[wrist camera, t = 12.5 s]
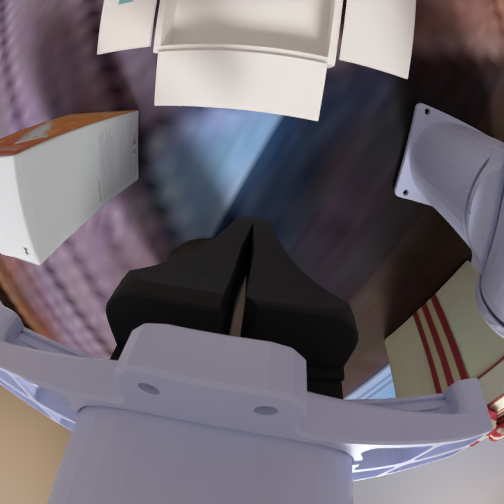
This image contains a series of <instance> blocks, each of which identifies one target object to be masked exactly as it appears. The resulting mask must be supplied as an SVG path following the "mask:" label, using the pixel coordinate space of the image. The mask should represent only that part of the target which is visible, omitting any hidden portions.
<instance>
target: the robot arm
mask: <svg viewBox="0 0 504 504" xmlns="http://www.w3.org/2000/svg"><path fill="white" fill-rule="evenodd" d="M425 109H428V113H427V114H425ZM404 190H407V192H406V193H405V194H403V192H404ZM394 193H395V194H396V195H397V196H398V197H402V198H405V199H409V200H413V201H416V202H420V203H423V204H427V205H430V206H433V207H434V208H435V209H436V210H437V211H438V212H439V213H440V214H441V215H442V216H443V217H444V218H445V219H446V221H447V222H448V223H449V224H450V225H451V226H452V227H453V228H454V229H455V231H456V232H457V233H458V234H459V235H460V236H461V237H462V239H463V240H464V241H465V242H466V243H467V245H468V246H469V247H470V248H471V250H472V260H471V264H472V265H473V266H474V268H475V269H476V271H477V272H478V273H479V275H480V276H479V279H478V282H477V285H476V289H475V299H476V303H477V306H478V309H479V311H480V313H481V315H482V316H483V318H484V320H485V321H486V322H487V324H488V325H489V326H490V327H491V328H492V329H493V330H494V331H495V332H496V333H497V334H498V335H500V336H501V337H502V338H504V142H501V141H499V140H497V139H495V138H492V137H490V136H488V135H486V134H484V133H482V132H481V131H479V130H477V129H475V128H473V127H472V126H470V125H468V124H466V123H464V122H462V121H460V120H458V119H456V118H454V117H452V116H450V115H448V114H446V113H444V112H441V111H439V110H437V109H435V108H432V107H430V106H428V105H425V104H423V103H417V104H416V106H415V110H414V115H413V119H412V124H411V128H410V132H409V137H408V141H407V145H406V149H405V153H404V156H403V160H402V164H401V167H400V171H399V174H398V178H397V181H396V184H395V188H394ZM245 278H246V289H245V305H244V312H243V319H242V327H241V334H240V337H235V336H230V335H231V330H232V324H233V320H234V316H235V312H236V309H237V305H238V302H239V298H240V295H241V292H242V288H243V285H244V281H245ZM106 315H107V319H108V322H109V325H110V327H111V330H112V333H113V336H114V338H115V341H116V343H117V346H116V348H115V350H114V352H113V354H112V356H111V358H110V360H107V359H100V358H97V357H94V356H91V355H89V354H86V353H83V352H81V351H78V350H75V349H73V348H70V347H68V346H65V345H63V344H60V343H58V342H56V341H53V340H51V339H49V338H46V337H44V336H42V335H40V334H37V333H35V332H33V331H31V330H29V329H27V328H25V327H24V326H23V323H22V321H21V319H20V318H19V316H18V315H17V314H16V313H15V312H14V311H12V310H11V309H9V308H7V307H5V306H3V305H1V304H0V384H1V385H2V386H4V387H5V388H6V389H7V390H9V391H10V392H12V393H13V394H15V395H16V396H17V397H19V398H20V399H22V400H23V401H25V402H26V403H27V404H29V405H30V406H32V407H33V408H35V409H36V410H38V411H39V412H41V413H42V414H44V415H46V416H47V417H49V418H50V419H52V420H54V421H55V422H57V423H59V424H60V425H62V426H64V427H65V428H67V429H69V430H71V431H72V433H71V436H70V438H69V441H68V444H67V446H66V449H65V452H64V455H63V457H62V460H61V463H60V466H59V469H58V472H57V475H56V478H55V481H54V484H53V487H52V490H51V494H50V497H49V501H48V504H353V481H356V480H362V479H367V478H373V477H378V476H383V475H387V474H391V473H395V472H399V471H404V470H407V469H411V468H415V467H418V466H422V465H425V464H428V463H432V462H435V461H438V460H441V459H444V458H447V457H451V456H453V455H455V454H456V453H458V452H460V451H462V450H463V449H465V448H466V447H468V446H470V445H471V444H473V443H475V442H476V441H478V440H479V439H481V438H482V437H484V436H485V435H487V434H488V433H489V432H491V431H492V430H493V425H492V421H491V418H490V414H489V411H488V408H487V405H486V401H485V398H484V395H483V392H482V390H481V387H480V384H479V381H478V379H477V378H470V379H464V380H459V381H456V382H455V383H453V384H452V385H450V386H449V387H448V388H447V389H446V390H445V392H444V393H439V394H432V395H423V396H414V397H402V398H388V399H362V400H343V393H342V383H341V381H343V380H344V368H343V367H344V365H345V364H346V362H347V361H348V359H349V358H350V356H351V354H352V353H353V351H354V350H355V348H356V345H357V343H358V330H357V326H356V322H355V319H354V315H353V313H352V311H351V308H350V305H349V303H347V302H345V301H343V300H342V299H340V298H338V297H336V296H335V295H333V294H331V293H330V292H328V291H327V290H325V289H324V288H322V287H321V286H320V285H318V284H317V283H316V282H314V281H313V280H312V279H311V278H310V277H308V276H307V275H306V274H305V273H304V272H303V271H302V270H301V269H300V268H299V267H298V266H297V265H296V264H295V263H294V262H293V261H292V259H291V258H290V257H289V255H288V254H287V253H286V251H285V250H284V248H283V247H282V245H281V243H280V241H279V240H278V238H277V236H276V234H275V232H274V230H273V227H272V225H271V222H270V221H269V220H268V219H261V218H254V217H247V216H239V217H238V218H237V219H236V220H235V221H234V222H233V223H232V224H230V225H229V226H228V227H227V228H226V229H225V230H224V231H223V232H221V233H220V234H219V235H218V236H216V237H215V238H214V239H212V240H211V241H209V242H208V243H207V244H205V245H203V246H202V247H200V248H198V249H196V250H194V251H192V252H190V253H188V254H186V255H183V256H181V257H179V258H176V259H174V260H171V261H168V262H165V263H161V264H158V265H154V266H150V267H145V268H140V269H136V270H130V271H129V272H128V273H127V274H126V276H125V277H124V278H123V279H122V281H121V282H120V284H119V285H118V287H117V288H116V290H115V291H114V293H113V294H112V296H111V298H110V299H109V301H108V302H107V306H106Z"/></svg>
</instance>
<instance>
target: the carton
mask: <svg viewBox="0 0 504 504" xmlns="http://www.w3.org/2000/svg"><path fill="white" fill-rule="evenodd" d="M342 6H343V0H160V4H159V10H158V17H157V24H156V31H155V40H154V49H153V53H157V54H158V60H157V71H156V85H155V103H154V106H199V107H216V108H229V109H240V110H250V111H258V112H266V113H273V114H280V115H286V116H293V117H298V118H304V119H309V120H314V121H318V119H319V113H320V107H321V101H322V95H323V89H324V83H325V76H326V70H327V68H331V67H333V66H335V60H336V53H337V46H338V38H339V31H340V23H341V14H342Z"/></svg>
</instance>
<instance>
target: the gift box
mask: <svg viewBox="0 0 504 504" xmlns="http://www.w3.org/2000/svg"><path fill="white" fill-rule="evenodd" d="M479 276H480V275H479V273H478V272H477V271H476V269H475V268H474V266H473V265H472V264H471V262H470V261H466V262H465V263H464V264H463V265H462V266H461V267H460V268H459V269H458V270H457V271H456V272H455V274H454V275H453V276H452V277H451V278H450V279H449V280H448V281H447V282H446V283H445V284H444V285H443V286H442V287H441V288H440V289H439V290H438V291H437V292H436V293H435V294H434V295H433V296H432V297H431V298H430V299H429V300H428V301H427V302H426V303H425V304H424V305H423V306H422V307H421V308H420V309H419V310H417V311H416V312H415V313H414V314H413V315H412V316H411V317H410V318H409V319H408V320H407V321H406V322H405V323H403V324H402V325H401V326H400V327H399V328H398V329H397V330H396V331H394V332H393V333H392V334H391V335H390V336H388V337H387V338H386V339H385V346H386V350H387V354H388V359H389V363H390V368H391V373H392V378H393V383H394V388H395V394H396V398H402V397H414V396H423V395H432V394H439V393H444V392H445V390H446V389H447V388H448V387H449V386H450V385H452V384H453V383H455V382H456V381H459V380H464V379H470V378H477V379H478V381H479V384H480V387H481V390H482V392H483V395H484V398H485V401H486V405H487V408H488V411H489V414H490V418H491V421H492V425H493V430H492V431H491V432H489V433H488V434H487V435H485V436H484V437H482V438H481V439H479V440H478V441H476V442H475V443H473V444H471V445H470V446H474V445H475V444H477V443H479V442H480V441H482V440H483V439H486V438H488V437H489V439H490V440H491V441H497V440H499V439H501V438H503V437H504V338H502V337H501V336H500V335H498V334H497V333H496V332H495V331H494V330H493V329H492V328H491V327H490V326H489V325H488V324H487V322H486V321H485V320H484V318H483V316H482V315H481V313H480V311H479V309H478V306H477V303H476V299H475V289H476V285H477V282H478V279H479Z"/></svg>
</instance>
